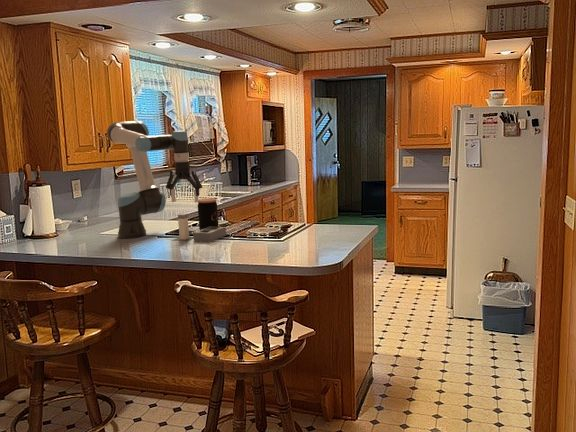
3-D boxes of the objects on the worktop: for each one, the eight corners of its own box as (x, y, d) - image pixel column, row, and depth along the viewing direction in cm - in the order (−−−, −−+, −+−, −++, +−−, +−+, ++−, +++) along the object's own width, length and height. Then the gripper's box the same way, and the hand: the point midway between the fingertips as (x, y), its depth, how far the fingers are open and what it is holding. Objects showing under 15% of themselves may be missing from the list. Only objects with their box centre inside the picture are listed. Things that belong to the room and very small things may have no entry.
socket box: (193, 242, 287) (193, 232, 286) (210, 235, 301) (209, 226, 300) (210, 243, 282) (209, 233, 282) (226, 236, 297) (225, 226, 296)
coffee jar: (215, 233, 305) (213, 201, 302) (196, 233, 307) (194, 201, 304) (221, 229, 315) (219, 198, 312) (203, 229, 317) (201, 198, 314)
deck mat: (171, 241, 291) (171, 240, 290) (182, 237, 300) (182, 236, 299) (187, 242, 286) (187, 241, 286) (198, 238, 295) (198, 237, 295)
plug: (179, 239, 292) (177, 214, 290) (183, 237, 295) (181, 213, 293) (185, 239, 291) (183, 215, 288) (189, 238, 294) (187, 213, 291)
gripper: (157, 162, 287) (160, 202, 291) (200, 161, 279) (203, 203, 283) (164, 160, 294) (168, 200, 298) (207, 160, 286) (209, 201, 290)
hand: (185, 202), depth 291 cm, fingers open, 13 cm apart
